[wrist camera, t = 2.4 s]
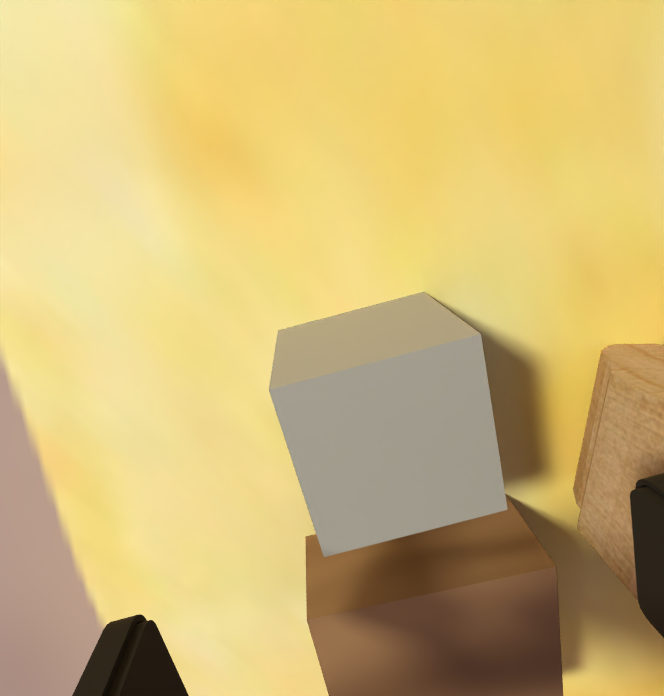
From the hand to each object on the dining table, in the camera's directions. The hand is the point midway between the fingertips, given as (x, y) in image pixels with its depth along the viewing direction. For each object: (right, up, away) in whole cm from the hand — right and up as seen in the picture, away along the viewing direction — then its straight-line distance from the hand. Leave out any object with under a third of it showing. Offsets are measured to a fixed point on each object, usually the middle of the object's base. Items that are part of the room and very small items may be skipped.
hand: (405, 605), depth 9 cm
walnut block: (+2, -5, +11) cm, 12 cm away
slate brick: (0, +4, +7) cm, 8 cm away
